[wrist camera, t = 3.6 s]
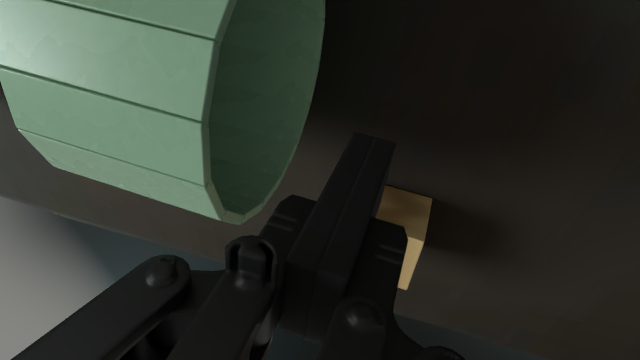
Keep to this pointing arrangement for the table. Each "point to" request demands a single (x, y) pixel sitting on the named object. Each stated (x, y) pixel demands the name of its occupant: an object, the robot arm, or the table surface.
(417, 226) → the block
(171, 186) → the pail
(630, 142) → the table surface
